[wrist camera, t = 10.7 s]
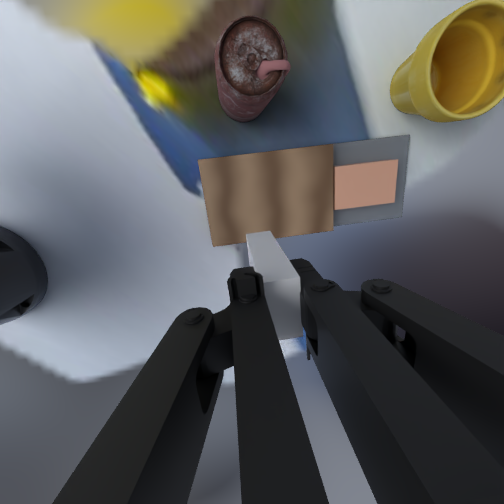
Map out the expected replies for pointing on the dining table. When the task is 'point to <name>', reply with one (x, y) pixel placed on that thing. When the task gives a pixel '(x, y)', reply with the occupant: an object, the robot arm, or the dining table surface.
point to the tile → (364, 184)
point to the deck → (269, 193)
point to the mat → (368, 153)
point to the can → (249, 66)
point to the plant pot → (455, 66)
